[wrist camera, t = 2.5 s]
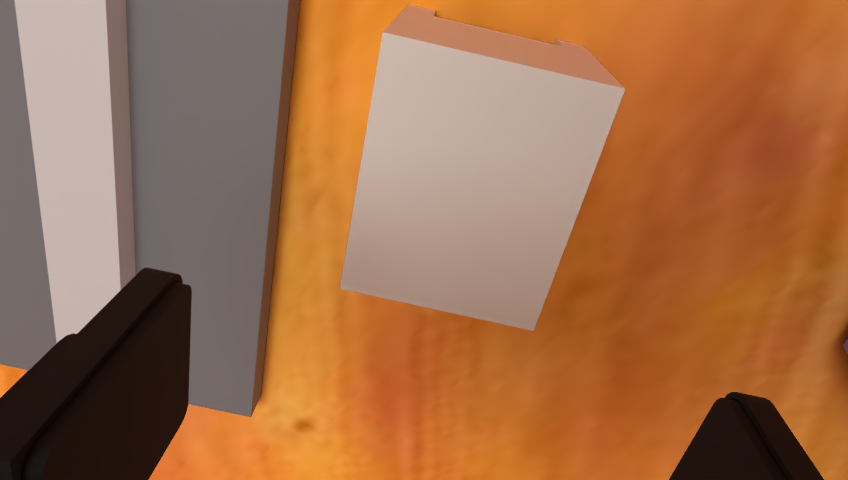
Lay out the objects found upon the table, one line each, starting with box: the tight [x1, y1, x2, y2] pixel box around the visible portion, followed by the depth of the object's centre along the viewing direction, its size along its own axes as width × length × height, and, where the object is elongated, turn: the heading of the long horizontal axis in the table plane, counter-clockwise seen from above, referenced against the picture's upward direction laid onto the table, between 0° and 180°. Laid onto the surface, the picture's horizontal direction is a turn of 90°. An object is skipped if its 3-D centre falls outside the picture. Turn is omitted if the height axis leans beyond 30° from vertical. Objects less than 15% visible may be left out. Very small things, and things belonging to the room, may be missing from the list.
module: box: [340, 4, 625, 331], centre depth 20 cm, size 6×8×6 cm
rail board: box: [0, 0, 300, 417], centre depth 23 cm, size 14×24×3 cm, turn 168°
